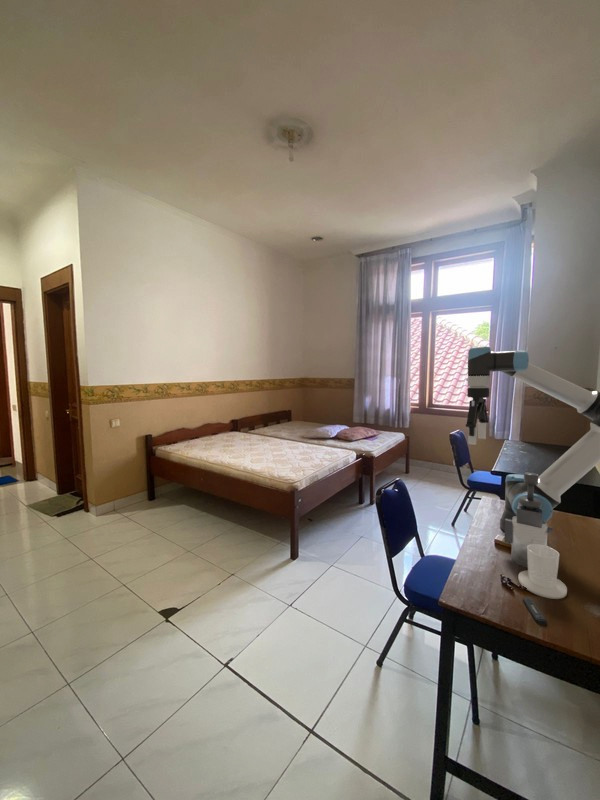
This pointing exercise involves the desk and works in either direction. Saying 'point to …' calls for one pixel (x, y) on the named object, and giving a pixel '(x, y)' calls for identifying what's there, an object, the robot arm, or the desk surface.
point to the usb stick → (535, 611)
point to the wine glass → (530, 492)
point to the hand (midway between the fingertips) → (477, 441)
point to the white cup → (542, 565)
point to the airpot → (525, 532)
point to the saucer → (552, 593)
